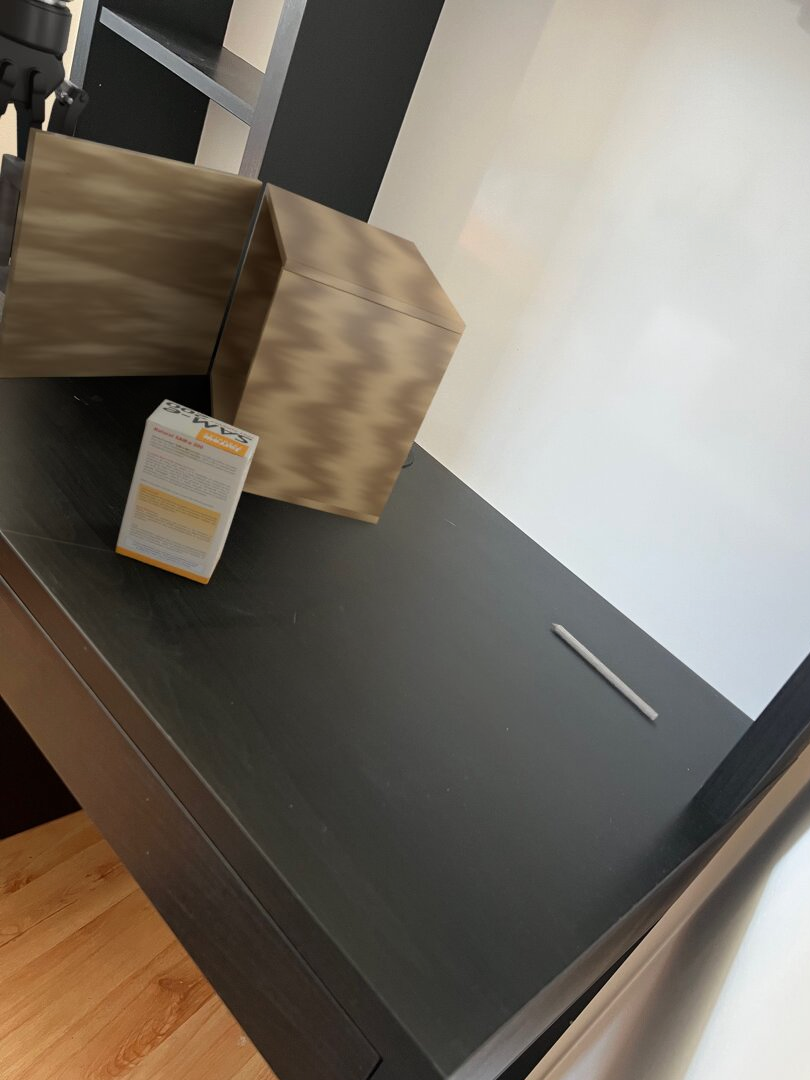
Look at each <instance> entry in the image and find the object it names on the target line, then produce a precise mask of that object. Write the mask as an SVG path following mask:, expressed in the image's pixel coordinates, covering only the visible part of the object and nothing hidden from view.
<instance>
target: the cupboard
mask: <svg viewBox="0 0 810 1080" xmlns="http://www.w3.org/2000/svg"><path fill="white" fill-rule="evenodd" d="M258 208H259V209H258V212H257V215H256V218H255V221H254V225H253V228H252V233H251V236H250V238H249V243H248V245H247V248H246V252H245V256H244V259H243V263H242V266H241V269H240V273H239V276H238V279H237V283H236V286H235V290H234V292H233V296H232V300H231V302H230V307H229V310H228V313H227V316H226V320H225V323H224V326H223V329H222V333H221V337H220V340H219V343H218V347H217V350H216V353H215V357H214V361H213V363H212V367H211V371H210V373H209V384H210V385H209V388H210V390H209V391H210V413H211V416H210V417H211V418H213V419H216V420H219V421H221V422H224V423H226V424H229V425H231V426H233V427H236V428H239V429H241V430H243V431H246V432H249V433H251V434H253V435H256V436H258V437H259V439H258V443H257V446H256V449H255V452H254V455H253V458H252V461H251V464H250V467H249V470H248V473H247V476H246V480H245V483H244V486H243V489H242V492H245V493H248V494H249V493H250V494H252V495H253V494H254V495H257V496H261V497H266V498H269V499H273V500H277V501H282V502H284V503H285V502H287V503H290V504H293V505H297V506H302V507H306V508H309V509H313V510H318V511H321V512H326V513H329V514H330V513H331V514H334V515H338V516H342V517H346V518H349V519H353V520H358V521H363V522H366V523H370V524H375V525H377V524H378V522H379V519H380V517H381V516H382V512H383V511H384V508H385V506H386V504H387V502H388V499H389V497H390V496H391V495H390V494H391V493H392V491H393V488H394V486H395V484H396V482H397V480H398V478H399V475H400V473H401V470H402V468H403V466H404V465H405V462H406V460H407V458H408V456H409V453H410V451H411V448H412V446H413V445H414V442H415V440H416V438H417V435H418V433H419V432H420V429H421V427H422V425H423V422H424V420H425V418H426V415H427V414H428V411H429V409H430V407H431V404H432V403H433V400H434V398H435V396H436V393H437V391H438V389H439V387H440V385H441V382H442V380H443V378H444V376H445V373H446V372H447V370H448V368H449V365H450V362H451V361H452V358H453V356H454V354H455V351H456V350H457V348H458V346H459V343H460V341H461V339H462V337H463V334H464V332H465V329H466V327H467V324H466V323H465V322H464V320H463V318H462V316H461V315H460V313H459V312H458V310H457V308H456V307H455V306H454V304H453V302H452V300H451V299H450V297H449V296H448V294H447V293H446V291H445V289H444V288H443V287H442V285H441V284H440V282H439V280H438V278H437V277H436V276H435V274H434V272H433V271H432V269H431V267H430V266H429V264H428V262H427V261H426V260H425V258H424V256H423V255H422V253H421V252H420V250H419V249H418V247H417V246H416V244H415V242H414V241H411V240H409V239H406V238H403V237H402V236H399V235H398V234H397V235H396V234H394V233H392V232H389V231H387V230H384V229H382V228H379V227H377V226H375V225H372V224H370V223H368V222H366V221H363V220H360V219H358V218H355V217H353V216H351V215H348V214H345V213H343V212H341V211H338V210H336V209H334V208H331V207H329V206H325V205H324V204H321V203H319V202H316V201H314V200H311V199H309V198H306V197H304V196H303V195H302V196H301V195H299V194H297V193H294V192H292V191H289V190H288V189H284V188H282V187H279V186H277V185H275V184H272V183H271V182H266V185H265V188H264V191H263V195H262V199H261V202H260V205H259V207H258Z"/></svg>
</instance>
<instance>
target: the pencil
mask: <svg viewBox="0 0 810 1080" xmlns="http://www.w3.org/2000/svg"><path fill="white" fill-rule="evenodd" d="M551 623H552V625H553V629H554V631H555V632H556V633H557V634H558V635H559V636H560V637H561V638H563V639H564V641H565V642H567V643H568V644H569V645H570V646H571V647H572V648H573V649H574V650H575V651H577V652H578V653H579V655H581V656H582V657H583V658H584V659H585V660H586V661H587V662H588V663H590V665H592V666H593V667H594V668H595V669H596V670H597V671H598V672H599V673H601V675H602V676H604V678H605V679H606V680H608V681H609V682H610V683H611V684H612V685H614V686H615V687H616V689H618V690H619V691H620V692H621V693H622V694H623V695H624V696H625V697H626V698H628V700H630V701H631V702H632V703H633V704H634V705H635V706H636V707H637V708H638V709H639V710H641V712H643V714H645V715H646V716H647V717H648V718H649V719H650V720H651V721H655V720H656V719H657V718H658V716H659V713H657V712H656V711H655V710H654V709H653V707H651V706H650V704H648V703H646V702H645V701H644V700H643V699H642V698H641V697H640V696H638V694H637V693H635V692H634V691H633V690H632V689H631V688H630V687H629V686H628V685H627V684H626V683H624V682H623V681H622V680H621V679H620V678H619V677H618V676H617V675H616V674H615V673H613V671H611V669H609V668H608V667H607V666H606V665H605V664H603V662H602V661H601V660H600V659H598V658H597V657H596V656H595V655H594V654H593V653H592V652H590V651H589V649H587V648H586V647H585V646H584V645H583V644H582V643H580V641H578V639H576V638H575V637H574V636H573V635H572V634H571V633H570V632H569V631H567V630H566V629H565V628H564V627H563V626H562V625H561V624H557V623H554V622H551Z"/></svg>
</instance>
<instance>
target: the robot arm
mask: <svg viewBox="0 0 810 1080" xmlns="http://www.w3.org/2000/svg"><path fill="white" fill-rule="evenodd" d="M74 1H75V0H0V119H1V118H2V116H5V114H6V112H7V110H8V106H9V105H11V104H12V105H13V107H14V110H15V112H16V116H15V117H16V156H17V157H19V158H21V159H22V160H24V161H25V160H26V153H27V146H28V140H29V133H30V128H35V129H40V130H43V124H44V123H45V122H46V100H48V98H49V97H50V96H51V95H52V94H53V93H54V96H55V98H54V100H53V102H52V106H51V110H50V113H49V117H48V123H47V127H46V131H48V132H53V133H57V134H62V135H66V136H70V137H74V135H75V131H76V126H77V123H78V119H79V116H80V115H81V114H82V112H83V110H84V108H85V107H86V106H87V104H88V103H89V99H90V96H89V93H87V91H85V90H84V89H82V88H81V87H80V86H78V85H77V84H75V83H74V82H73V81H71V80H70V79H69V78H67V77H66V69H65V66H64V55H65V54H66V52H67V50H68V45H69V37H70V31H71V26H72V20H73V14H72V13H71V9H70V8H69V6H67V5H66V4H67V3H71V2H74ZM20 193H21V191H20V192H19V199H18V206H19V200H20ZM18 206H17V213H18ZM17 213H16V219H15V226H16V220H17ZM15 226H14V233H15ZM14 233H13V239H12V246H13V240H14ZM12 246H11V253H12ZM11 253H10V259H11Z"/></svg>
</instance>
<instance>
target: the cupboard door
mask: <svg viewBox="0 0 810 1080" xmlns="http://www.w3.org/2000/svg"><path fill="white" fill-rule="evenodd" d="M0 165H1V166H0V292H1V293H2V294H3V295H4V300H3V305H2V306H3V307H2V315H1V319H0V320H1V322H0V379H1V378H3V379H4V378H6V379H7V378H11V379H12V378H68V377H70V378H71V377H72V378H73V377H75V378H80V377H83V378H84V377H144V376H145V377H151V376H152V377H153V376H155V377H156V376H157V377H158V376H159V377H160V376H206V375H207V374H208V371H209V367H210V363H211V360H212V356H213V353H214V350H215V346H216V344H217V341H218V337H219V332H220V329H221V326H222V322H223V320H224V316H225V314H226V313H225V312H226V310H227V305H228V302H229V299H230V295H231V292H232V288H233V285H234V282H235V278H236V275H237V271H238V268H239V265H240V261H241V259H242V255H243V251H244V248H245V245H246V240H247V238H248V234H249V231H250V227H251V224H252V221H253V218H254V214H255V210H256V207H257V203H258V201H259V200H258V199H259V197H260V194H261V190H262V186H263V182H262V181H261V180H259V179H258V178H254V177H250V176H245V175H241V174H237V173H233V172H228V171H223V170H219V169H214V168H211V167H207V166H202V165H197V164H194V163H188V162H184V161H180V160H175V159H171V158H168V157H163V156H158V155H155V154H149V153H144V152H140V151H137V150H133V149H132V150H131V149H127V148H123V147H119V146H114V145H109V144H106V143H100V142H96V141H93V140H89V139H84V138H79V137H74V136H73V137H70V136H66V135H62V134H57V133H53V132H48V131H47V130H43V129H42V130H40V129H35V128H30V133H29V140H28V146H27V153H26V160H25V161H24V160H22V159H21V158H19V157H17V155H14V154H12V153H11V154H10V153H2V157H1V163H0ZM20 191H21V193H20V200H19V206H18V199H19V192H20ZM17 206H18V213H17ZM16 213H17V220H16V226H15V219H16ZM14 226H15V233H14ZM13 233H14V240H13V246H12V239H13ZM11 246H12V253H11ZM10 253H11V258H10Z"/></svg>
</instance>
